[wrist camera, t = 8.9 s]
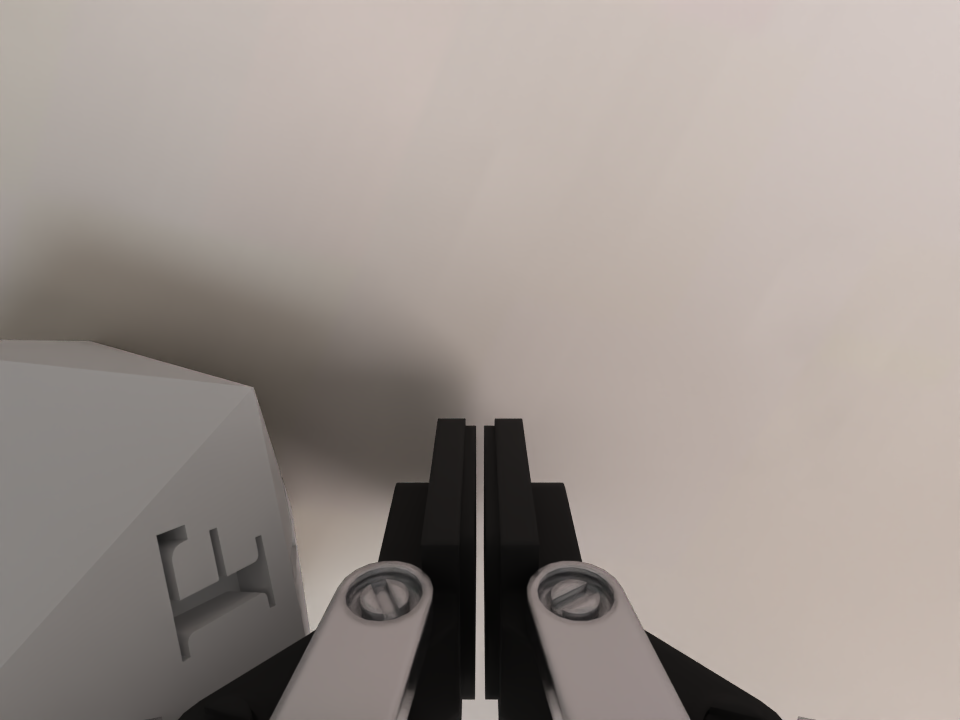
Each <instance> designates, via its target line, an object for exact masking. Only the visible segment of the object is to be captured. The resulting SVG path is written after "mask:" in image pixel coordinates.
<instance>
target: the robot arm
mask: <svg viewBox="0 0 960 720" xmlns="http://www.w3.org/2000/svg"><path fill="white" fill-rule="evenodd" d="M484 621H485V699H498V715H499V720H782V719H781V718H780V717H779V715H778V714H777V713H776V712H774V711H773V710H772V709H770V708H769V707H768V706H767V705H765V704H764V703H763V702H761V701H760V700H758V699H757V698H755V697H753V696H752V695H750V694H748V693H747V692H745V691H743V690H742V689H740V688H739V687H737V686H735V685H734V684H732V683H730V682H729V681H727V680H725V679H724V678H722V677H721V676H719V675H717V674H716V673H714V672H712V671H711V670H709V669H707V668H706V667H704V666H703V665H701V664H699V663H698V662H696V661H694V660H693V659H691V658H690V657H688V656H686V655H685V654H683V653H681V652H680V651H678V650H676V649H675V648H673V647H672V646H670V645H668V644H667V643H665V642H663V641H662V640H660V639H658V638H657V637H655V636H654V635H652V634H650V633H649V632H647V631H645V630H644V629H643V627H642V625H641V623H640V621H639V619H638V617H637V615H636V613H635V611H634V610H633V608H632V606H631V604H630V602H629V600H628V598H627V596H626V594H625V592H624V590H623V588H622V587H621V585H620V584H619V583H618V581H617V580H616V579H615V578H614V577H613V576H612V575H610V574H609V573H608V572H606V571H605V570H603V569H601V568H599V567H597V566H594V565H592V564H588V563H584V562H582V560H581V555H580V551H579V547H578V542H577V538H576V533H575V529H574V525H573V520H572V516H571V512H570V507H569V503H568V498H567V494H566V490H565V486H564V484H563V483H531V479H530V472H529V465H528V458H527V451H526V443H525V436H524V429H523V422H522V419H495V426H484ZM475 632H476V426H466V425H465V419H438V422H437V430H436V437H435V444H434V451H433V459H432V466H431V473H430V480H429V483H397V484H396V486H395V490H394V494H393V499H392V503H391V508H390V512H389V516H388V521H387V525H386V530H385V534H384V538H383V543H382V547H381V551H380V556H379V560H378V562H376V563H372V564H368V565H366V566H363V567H361V568H359V569H357V570H355V571H354V572H352V573H351V574H350V575H348V576H347V577H346V578H345V579H344V580H343V581H342V583H341V584H340V585H339V587H338V588H337V590H336V592H335V594H334V596H333V598H332V600H331V602H330V604H329V606H328V608H327V610H326V611H325V613H324V615H323V617H322V619H321V621H320V623H319V625H318V627H317V629H316V630H315V631H313V632H311V633H310V634H308V635H307V636H305V637H303V638H302V639H300V640H298V641H297V642H295V643H293V644H292V645H290V646H289V647H287V648H285V649H284V650H282V651H280V652H279V653H277V654H276V655H274V656H272V657H271V658H269V659H267V660H266V661H264V662H262V663H261V664H259V665H258V666H256V667H254V668H253V669H251V670H249V671H248V672H246V673H244V674H243V675H241V676H240V677H238V678H236V679H235V680H233V681H231V682H230V683H228V684H226V685H225V686H223V687H222V688H220V689H218V690H217V691H215V692H213V693H212V694H210V695H208V696H207V697H205V698H204V699H202V700H200V701H199V702H198V703H196V704H195V705H194V706H192V707H191V708H190V709H188V710H187V711H186V712H184V713H183V714H182V716H181V717H180V718H179V719H178V720H461V718H462V699H475ZM147 720H162V717H157V718H152V719H147ZM798 720H814V719H808V718H803V717H798Z"/></svg>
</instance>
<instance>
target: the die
mask: <svg viewBox="0 0 960 720" xmlns="http://www.w3.org/2000/svg"><path fill="white" fill-rule="evenodd" d="M308 634H310V628H309V621H308V614H307V608H306V601H305V594H304V587H303V581H302V574H301V567H300V561H299V554H298V547H297V540H296V534H295V527H294V520H293V513H292V507H291V504H290V501H289V497H288V494H287V491H286V488H285V485H284V482H283V478H282V477H281V473H280V469H279V466H278V463H277V460H276V456H275V453H274V450H273V447H272V444H271V441H270V438H269V434H268V431H267V428H266V425H265V422H264V419H263V416H262V412H261V409H260V406H259V403H258V400H257V397H256V393H255V390H254V387H251V386H247V385H244V384H240V383H237V382H233V381H230V380H226V379H223V378H219V377H216V376H212V375H208V374H205V373H201V372H198V371H194V370H191V369H187V368H184V367H180V366H177V365H173V364H170V363H166V362H163V361H159V360H155V359H152V358H148V357H145V356H141V355H138V354H134V353H131V352H127V351H124V350H120V349H117V348H113V347H110V346H106V345H102V344H99V343H95V342H92V341H62V340H0V720H147V719H152V718H157V717H162V720H178V719H179V718H180V717H181V716H182V714H183V713H184V712H186V711H187V710H188V709H190V708H191V707H192V706H194V705H195V704H196V703H198V702H199V701H200V700H202V699H204V698H205V697H207V696H208V695H210V694H212V693H213V692H215V691H217V690H218V689H220V688H222V687H223V686H225V685H226V684H228V683H230V682H231V681H233V680H235V679H236V678H238V677H240V676H241V675H243V674H244V673H246V672H248V671H249V670H251V669H253V668H254V667H256V666H258V665H259V664H261V663H262V662H264V661H266V660H267V659H269V658H271V657H272V656H274V655H276V654H277V653H279V652H280V651H282V650H284V649H285V648H287V647H289V646H290V645H292V644H293V643H295V642H297V641H298V640H300V639H302V638H303V637H305V636H307V635H308Z"/></svg>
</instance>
